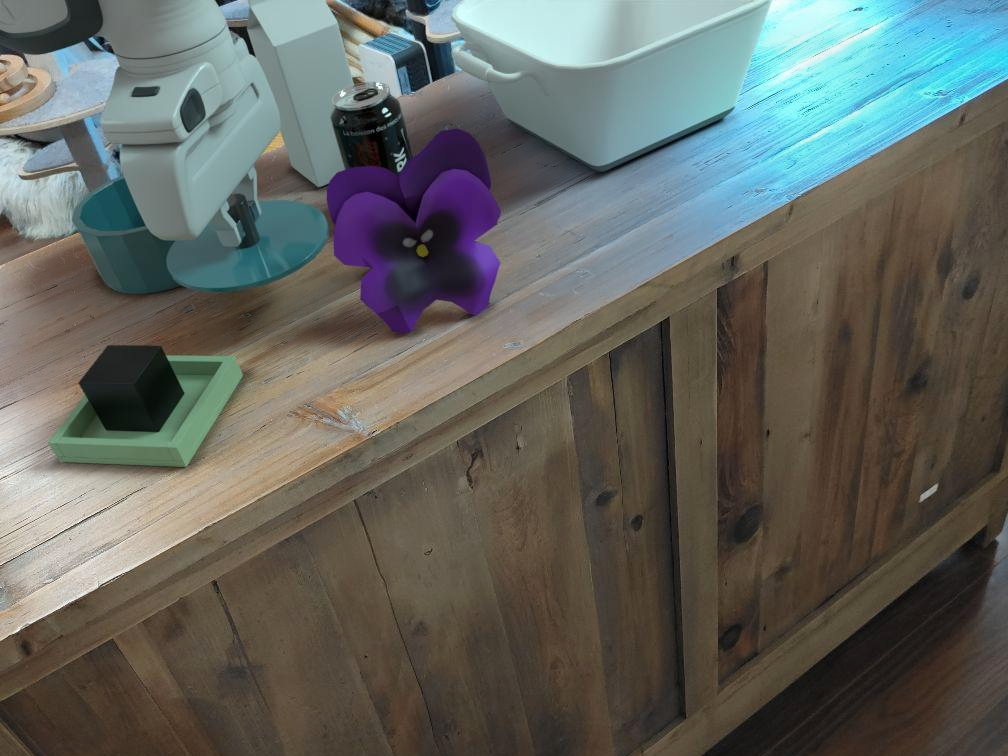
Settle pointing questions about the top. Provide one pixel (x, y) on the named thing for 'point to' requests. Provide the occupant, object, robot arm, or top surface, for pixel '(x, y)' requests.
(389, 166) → the beverage can
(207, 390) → the tray
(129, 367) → the black block
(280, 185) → the top surface
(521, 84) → the tub
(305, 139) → the milk carton
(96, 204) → the cook pot
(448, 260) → the flower
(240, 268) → the pot lid
